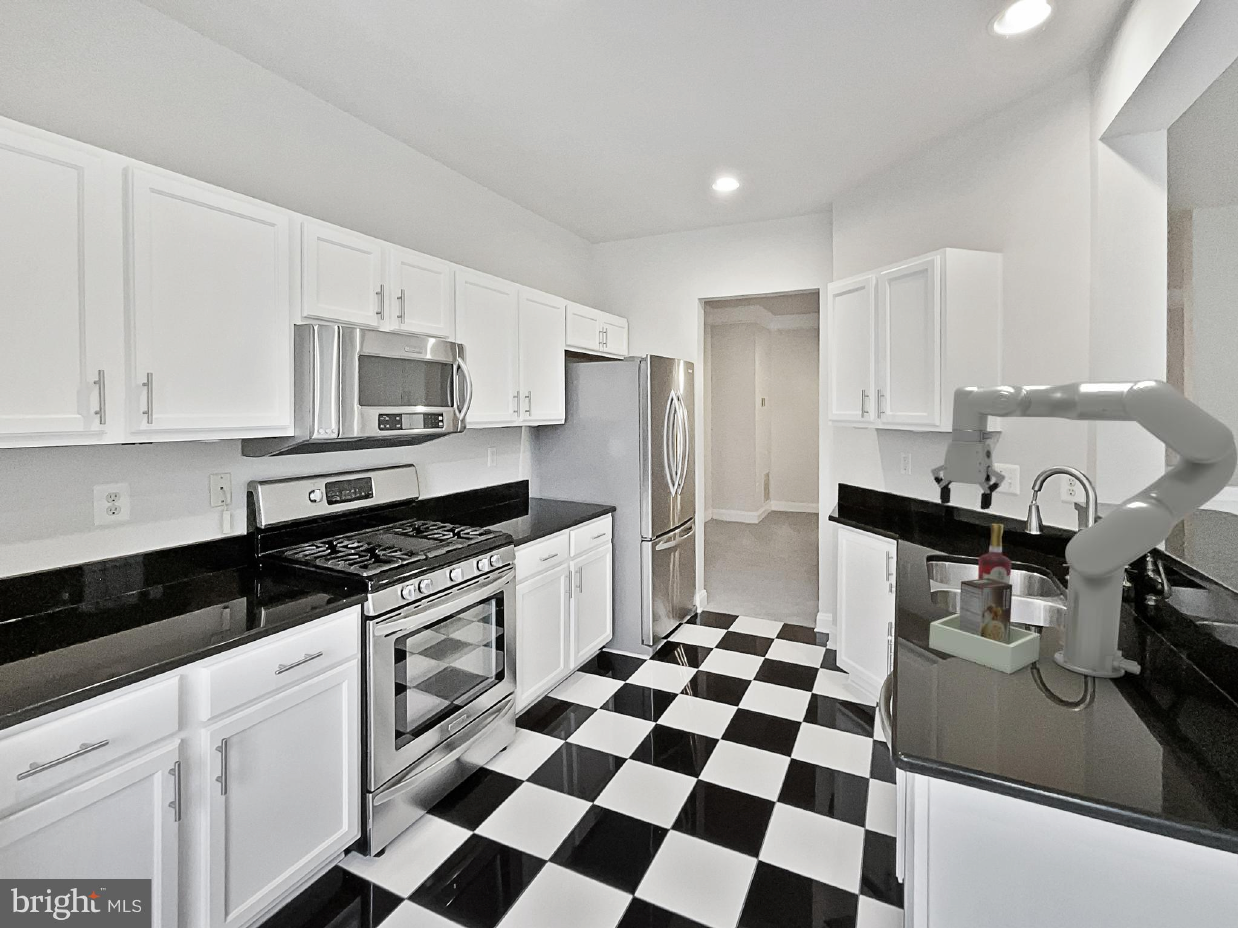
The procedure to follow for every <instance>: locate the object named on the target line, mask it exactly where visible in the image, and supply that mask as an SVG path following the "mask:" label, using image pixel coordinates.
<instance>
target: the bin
mask: <svg viewBox="0 0 1238 928" xmlns="http://www.w3.org/2000/svg"><path fill="white" fill-rule="evenodd" d="M959 615H960V612H959V613H955V614H952V615H950V616H946V617H944V618H941V619H937V620H935V621H932V622H930V624H929V638H928V639H929V640H928V641H929V642H928V648H930V649H933V650H936V651H939V652H942V653H945V654H948V655H951V656H954V657H957V658H960V659H963V660H967V661H969V662H971V663H975V662H976V664H978V665H981V666H984V665H985V666H984V667H986V668H990V667H991V668H990V669H993V668H994V670H996V671H999V672H1002V671H1003V673H1006V674H1008V675H1010V673H1011V674H1012V673H1015V672H1016V671H1018V670H1020V669H1022V668H1024V667H1027V666H1028V665H1030V664H1032V663H1034V662H1036V661H1038V660H1039V656H1040V643H1041V642H1040V640H1041V634H1040V633H1037V632H1033V631H1029V630H1027V629H1022V628H1020V627H1019V628H1018V627H1016V626H1012V625H1010V638H1009V645H1007V644H1004V643H1000V642H997V641H994V640H990V639H987V638H984V637H980V636H977V635H973V634H970V633H967V632H963V631H960V630H959Z"/></svg>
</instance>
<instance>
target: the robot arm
mask: <svg viewBox="0 0 1238 928" xmlns="http://www.w3.org/2000/svg"><path fill="white" fill-rule="evenodd" d="M952 408H953V409H952V421H951V422H952V424H951V427H952V428H951V439H950V440H951V441H949V442H948V444H947V446H946V451H945V456H944V459H943V460H944V461H943V464H941V465H939V466H938V467H935V468H932V469H931V470H930V472H931V474H932V477H933V480H934V481H935V483H936V484H937V485H938V488H940V492H939V499H940V505H941V504H942V505H946V504H949V503H951V491H952V490H951V487H950V486H951V485H952V483H959V484H969V485H979V487H980V488H981V490H982V491H983V492H982V493H981V496H980V509H981V510H990V509H991V506H992V502H993V493H995V492H996V491H997V490H998V489H999V488H1000V487H1001V486H1002V483H1003V482H1004V481H1005V480H1006V476H1005V475H1004V474H1002V473H1001V472H999V471H997V470H996V469H994V468H993V466H994V465H993V453H992V448H991V443H987V442H988V440H992V438H993V437H994V436H993V433H992V432H991V433H989V432H988V431H989V430H988V419H989V416H990V417H997V418H1057V419H1058V418H1060V419H1065V420H1071V421H1091V422H1092V421H1094V422H1096V421H1101V422H1102V421H1105V422H1106V421H1107V422H1108V421H1109V422H1110V421H1112V422H1113V421H1114V422H1136V423H1137V424H1139V425H1140V426H1141V427H1142V428H1143V429H1145V430H1146V431H1147V432H1148V433H1150V434H1151V435H1153V437H1155V438H1156V439H1157V440H1159V441H1160V442H1162V443H1163V444H1164V445H1165V446H1167V447H1168V448H1169V449H1170V450H1172V451H1173V452H1175V454H1177V455H1178V456H1180V458H1179V459H1178V462H1176V464H1175V465H1174V466H1173V467H1172V468H1170V470H1168V471H1167V472H1166V473H1164V474H1163V475H1161V477H1159V478H1158V479H1157V480H1155V481H1153V482H1152V483H1151V484H1149V485H1148V486H1146V487H1145V488H1144V489H1142V490H1140V491H1139V492H1138V493H1136V494H1134V495H1133V496H1131V497H1129V498H1127V499H1125V500H1123V501H1122V502H1121V503H1120V504H1119V505H1118V506H1117V507H1116V508H1114V509H1113V510H1112V511H1110V512H1108V514H1106V515H1104V516H1103V517H1102V518H1100V519H1099V520H1098V521H1097V522H1095V523H1093V524H1092V525H1091V526H1089V527H1088V526H1087V527H1085V528H1083V529H1081V530H1079V531H1077V533H1076V534H1075V535H1074V536H1073V537H1072V538H1071V539H1070V540H1069V542H1068V543H1067V545H1066V548H1065V551H1064V552H1065V554H1064V555H1065V560H1066V563H1067V565H1068V566H1069V571H1068V572H1069V574H1068V583H1067V592H1066V593H1067V594H1066V595H1067V597H1066V607H1065V608H1066V609H1065V621H1064V622H1065V623H1064V633H1063V635H1064V636H1063V647H1062V648H1063V650H1059V651H1057V652H1055V653H1054V655H1053V660H1054V662H1055V663H1056V664H1058V665H1059V666H1061V667H1063V668H1064V669H1067V670H1069V671H1072V672H1074V673H1077V674H1082V675H1085V676H1089V677H1090V676H1091V677H1096V678H1106V679H1107V678H1109V679H1112V678H1113V679H1114V678H1120V677H1123V676H1124V675H1125V673H1126V672H1125V671H1127V672H1128V673H1132V674H1135V675H1139V674H1140V672H1141V665H1139V664H1138V662H1137V661H1133V660H1130V659H1129V660H1128V659H1125V657H1123V656H1122V654H1123V651H1122V650H1118V642H1119V630H1120V629H1119V628H1120V619H1121V618H1120V617H1121V606H1122V597H1123V586H1124V575H1125V569H1126V567H1128V565H1130V564H1131V563H1133V562H1134V561H1136V560H1137V559H1139V558H1140V557H1142V556H1144V555H1145V554H1147V553H1148V552H1150V551H1151V550H1153V549H1155V548H1156V547H1157V546H1158V545H1161V544H1162V543H1163V542H1164V541H1165V540H1166V539H1167V538H1168V537H1169V536H1170V534H1171V533H1172V532H1173V531H1172V530H1173V528H1174V527H1175V526H1176V525H1177V524H1178V523H1180V522H1181V521H1183V520H1184V519H1185V518H1187V517H1188V516H1190V515H1191V514H1193V513H1194V512H1196V511H1197V510H1199V509H1200V508H1201V507H1203V506H1204V505H1205V504H1206V503H1208V502H1209V501H1210V500H1212V499H1214V498H1215V497H1216V496H1217V495H1219V494H1220V493H1221V492H1222V490H1224V489H1225V488H1226V487H1227V485H1228V484H1229V483H1230V481H1231V480H1232V478H1233V477H1234V475H1235V474H1234V473H1235V471H1236V468H1237V465H1238V464H1237V463H1238V450H1237V445H1236V443H1235V436H1234V433H1233V432H1232V430H1231V429H1230V428H1229V427H1228V426H1227V425H1226V424H1225V423H1223V422H1221V421H1220V420H1218V419H1217V418H1215V417H1214V416H1213V415H1211V414H1210V413H1208V412H1207V411H1205V410H1204V409H1203V408H1201V407H1200V406H1199V405H1197V404H1195V403H1194V402H1193V401H1191V400H1190V399H1188V398H1187V397H1186V396H1185V395H1184V394H1182V393H1181V392H1180V391H1179V390H1177V389H1176V388H1175V387H1174V386H1173V385H1171V384H1170V383H1168V382H1166V381H1164V380H1162V379H1161V380H1159V379H1145V380H1119V381H1118V380H1117V381H1116V380H1115V381H1113V380H1112V381H1108V380H1107V381H1105V380H1104V381H1103V380H1101V381H1078V382H1077V381H1075V382H1071V383H1067V384H1057V385H1055V384H1054V385H1010V384H1009V385H1008V384H1003V385H996V386H995V385H994V386H988V387H987V386H986V387H984V386H960V387H957V388H956V389H955V390H954V392H953V406H952ZM941 472H942V476H941V474H940V473H941ZM993 478H994V479H995V480H994V482H993V483H992V484H991V482H992V481H993Z"/></svg>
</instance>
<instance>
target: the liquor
mask: <svg viewBox="0 0 1238 928" xmlns="http://www.w3.org/2000/svg"><path fill="white" fill-rule="evenodd" d="M1003 533H1004V524H1001V523H991V525H990V536H991V537H990V543H989V547H988V553H985V554H983V555H981V556H979V557H978V565H977V566H978V574H977V577H978V578H977V579H986V578H990V579H994V580H998V581H1001V582H1004V583H1008V584H1010V580H1011V571H1012V563H1013V561H1012V560H1010V558H1008V557H1007V556H1005V555H1003V543H1002V536H1003Z"/></svg>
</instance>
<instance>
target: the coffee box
mask: <svg viewBox="0 0 1238 928" xmlns="http://www.w3.org/2000/svg"><path fill="white" fill-rule="evenodd" d="M959 596H960V598H959V599H960V600H959V613H960V615H959V630H960V631H963V632H967V633H970V634H973V635H977V636H980V637H984V638H987V639H990V640H994V641H997V642H1000V643H1004V644H1007V645H1009V638H1010V626H1011V620H1012V619H1011V618H1012V617H1011V616H1012V602H1013V601H1012V600H1013V599H1012V598H1013V584H1012V583H1009V584H1008V583H1004V582H1001V581H998V580H994V579H990V578H986V579H978V578H977V579H970V580H969V579H968V580H963V581H960V595H959Z"/></svg>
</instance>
